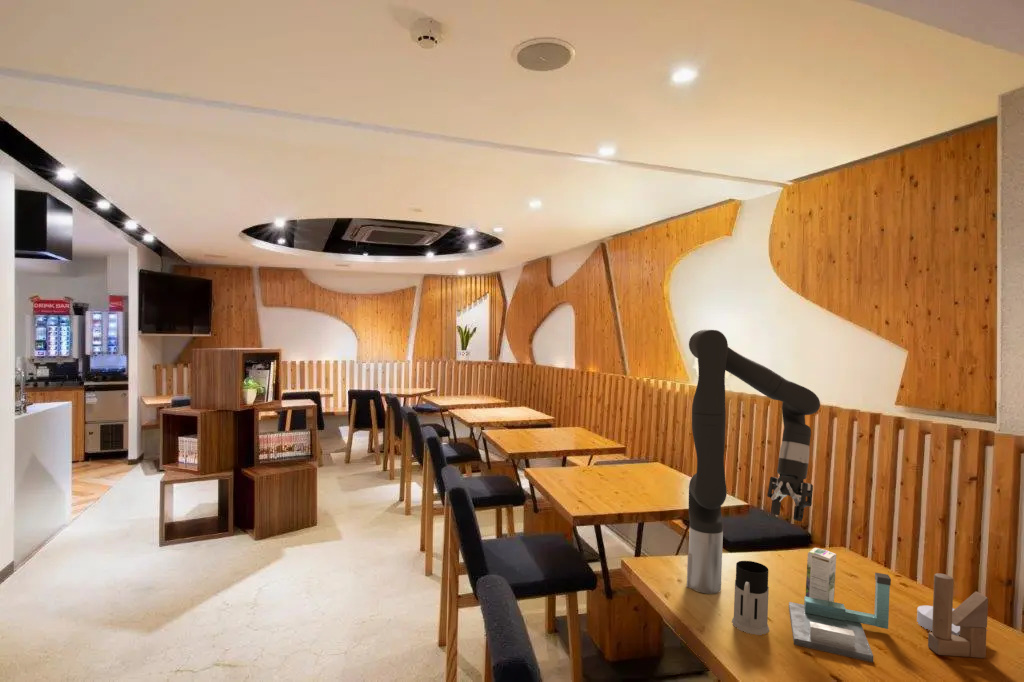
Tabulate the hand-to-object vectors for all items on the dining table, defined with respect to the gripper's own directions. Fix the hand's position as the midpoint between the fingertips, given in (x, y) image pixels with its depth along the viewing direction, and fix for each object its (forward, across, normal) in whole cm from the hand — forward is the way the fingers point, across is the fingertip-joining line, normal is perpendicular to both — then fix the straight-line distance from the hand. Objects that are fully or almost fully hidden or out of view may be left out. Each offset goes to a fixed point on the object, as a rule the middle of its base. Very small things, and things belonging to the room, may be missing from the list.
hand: (786, 517), depth 151 cm
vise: (+25, +13, +5) cm, 28 cm away
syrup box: (+21, 0, +14) cm, 25 cm away
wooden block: (+21, +26, +28) cm, 44 cm away
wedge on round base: (+19, +18, +36) cm, 44 cm away
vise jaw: (+21, +11, +12) cm, 27 cm away
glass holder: (+29, +8, -14) cm, 33 cm away
